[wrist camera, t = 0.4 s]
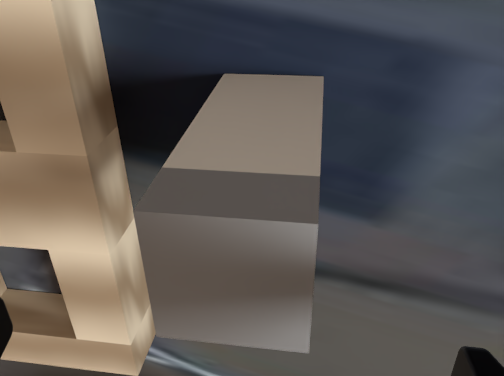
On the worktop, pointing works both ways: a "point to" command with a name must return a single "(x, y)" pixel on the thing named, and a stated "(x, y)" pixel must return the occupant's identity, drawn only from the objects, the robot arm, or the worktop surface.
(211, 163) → the plug
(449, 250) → the worktop surface
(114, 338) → the socket block
